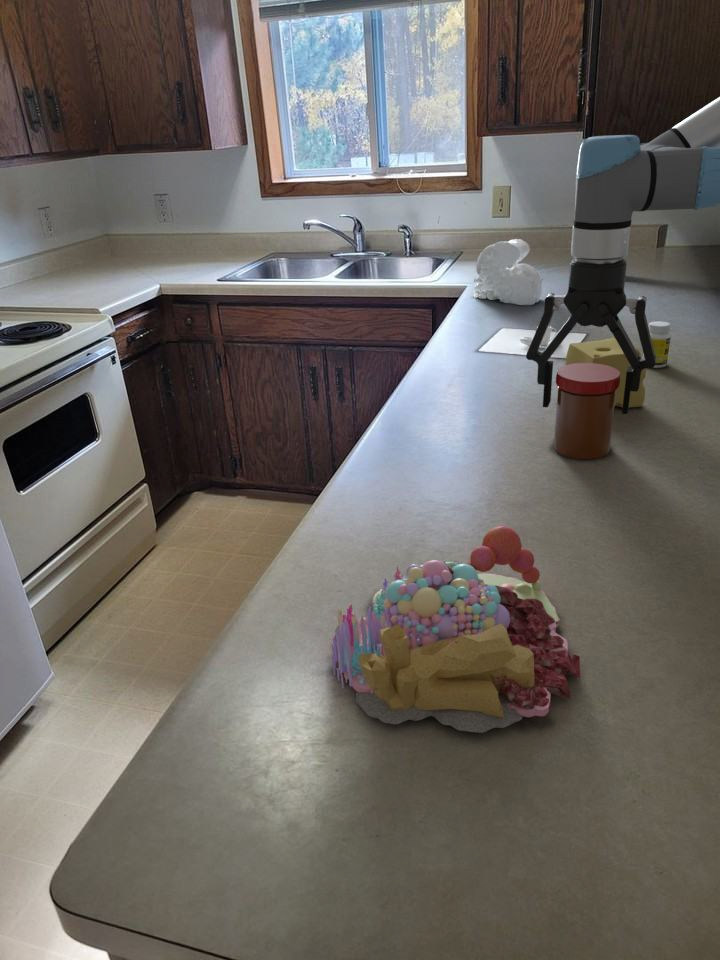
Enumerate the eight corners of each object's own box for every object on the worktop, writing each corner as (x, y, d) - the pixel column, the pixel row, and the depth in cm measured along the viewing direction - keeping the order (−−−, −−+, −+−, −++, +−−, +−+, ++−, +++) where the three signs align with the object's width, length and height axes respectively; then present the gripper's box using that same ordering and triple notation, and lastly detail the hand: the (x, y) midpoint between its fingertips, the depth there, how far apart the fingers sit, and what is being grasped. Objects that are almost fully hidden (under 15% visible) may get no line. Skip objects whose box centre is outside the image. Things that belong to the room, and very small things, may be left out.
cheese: (644, 407, 129) (651, 351, 124) (585, 413, 127) (590, 357, 123) (615, 388, 138) (621, 335, 133) (561, 394, 137) (565, 341, 132)
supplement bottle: (667, 369, 146) (673, 327, 143) (641, 367, 148) (646, 326, 144) (666, 361, 150) (672, 321, 147) (641, 360, 152) (646, 320, 148)
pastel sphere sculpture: (613, 728, 63) (625, 642, 59) (339, 755, 62) (332, 669, 58) (529, 568, 85) (534, 498, 81) (327, 586, 84) (321, 516, 80)
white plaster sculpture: (554, 274, 189) (492, 230, 192) (509, 337, 200) (451, 294, 203) (568, 264, 205) (510, 224, 207) (526, 323, 216) (471, 284, 218)
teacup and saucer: (517, 348, 164) (518, 330, 162) (526, 338, 170) (527, 321, 168) (557, 351, 160) (558, 332, 158) (564, 341, 167) (566, 323, 165)
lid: (558, 373, 115) (559, 361, 114) (619, 376, 113) (620, 364, 112) (553, 392, 108) (554, 380, 107) (618, 396, 105) (620, 383, 104)
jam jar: (607, 438, 118) (614, 368, 112) (612, 460, 110) (620, 386, 105) (552, 436, 119) (557, 367, 114) (554, 458, 112) (559, 385, 107)
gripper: (690, 254, 101) (668, 405, 111) (519, 252, 109) (513, 393, 119) (689, 265, 95) (666, 423, 105) (509, 261, 103) (503, 409, 113)
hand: (585, 407), depth 112 cm, fingers open, 11 cm apart
